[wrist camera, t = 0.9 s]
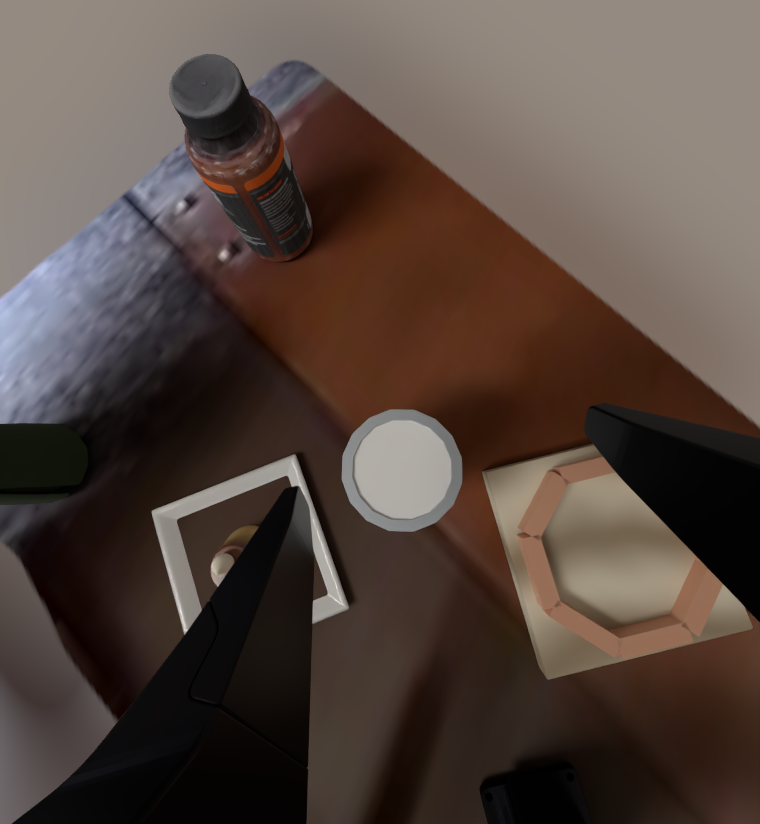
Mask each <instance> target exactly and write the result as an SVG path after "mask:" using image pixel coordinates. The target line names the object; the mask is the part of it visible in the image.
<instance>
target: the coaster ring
mask: <svg viewBox="0 0 760 824" xmlns="http://www.w3.org/2000/svg"><path fill="white" fill-rule="evenodd" d="M552 468H553V471H554V472H548V471H547V472H546V474H545V476H544V478H543V480H542V482H541V484H540V485H539V487H538V489H537V491H536V493H535V495H534V497H533V499H532V501H531V502H530V504H529V506H528V508H527V510H526V512H525V514H524V516H523V518H522V520H521V521H520V523H519V525H518V527H517V528H518V529H520V530H522V531H523V532H525V533H522V534H518V535H517V538H518V541H519V545H520V548H521V551H522V555H523V558H524V561H525V565H526V568H527V571H528V574H529V578H530V581H531V584H532V588H533V591H534V594H535V598H536V601H537V603H538V604H539V605H540V606H541V607H542V610H543V611H544V612H545V613H546V614H547V615H548V616H549V617H550V618H552V619H554V620H555V621H557V622H558V623H560V624H562V625H563V626H565V627H566V628H568V629H570V630H571V631H573V632H574V633H576V634H578V635H579V636H581V637H582V638H584V639H586V640H587V641H589V642H590V643H592V644H594V645H595V646H597V647H598V648H600V649H602V650H603V651H605V652H606V653H608V654H610V655H611V656H613V657H614V658H615V657H616V655H617V654H618V655H619V656H620V657H621V658H622V659H627V658H631V657H635V656H639V655H643V654H647V653H651V652H655V651H659V650H663V649H667V648H671V647H675V646H679V645H683V644H687V643H691V642H693V639H692V636H691V633H690V632H692V633H694V634H695V635H697V636H699V637H700V635H701V633H702V630H703V628H704V626H705V624H706V621H707V619H708V617H709V615H710V612H711V610H712V608H713V606H714V603H715V601H716V599H717V597H718V595H719V592H720V590H721V588H722V586H723V584H722V583H721V582H720V581H719V580H718V579H717V578H716V577H715V575H714V574H713V573H712V572H711V571H710V570H709V569H708V568H707V567H706V566H705V565H704V564H703V563H702V562H701V561H700V560H699V559H698V558H697V557H696V556H695V555H694V554H693V553H692V554H693V557H694V559H695V560H694V562H693V564H692V567H691V569H690V571H689V573H688V575H687V577H686V580H685V582H684V584H683V586H682V588H681V590H680V593H679V595H678V597H677V599H676V601H675V604H674V606H673V608H672V610H671V612H670V614H669V615H667V616H663V617H659V618H655V619H651V620H647V621H643V622H639V623H635V624H631V625H627V626H623V627H619V628H615V629H611V630H609V629H607V628H605V627H604V626H602V625H601V624H599V623H597V622H596V621H594V620H592V619H591V618H589V617H588V616H586V615H584V614H583V613H581V612H579V611H578V610H576V609H575V608H573V607H571V606H570V605H568V604H567V603H565V602H563V601H562V600H560V598H559V595H558V592H557V588H556V585H555V582H554V579H553V576H552V573H551V569H550V566H549V563H548V560H547V557H546V553H545V550H544V547H543V544H542V541H541V536H542V534H543V532H544V530H545V528H546V526H547V524H548V523H549V521H550V519H551V517H552V515H553V513H554V511H555V509H556V507H557V505H558V503H559V501H560V499H561V497H562V496H563V494H564V492H565V490H566V488H567V486H568V484H571V483H575V482H579V481H583V480H587V479H591V478H595V477H599V476H603V475H607V474H611V473H614V472H615V471H614V470H613V469H612V467H611V466H610V465H609V463H608V462H607V461H606V460H605V458H604V457H603V456H602V455H599V456H595V457H591V458H587V459H583V460H579V461H575V462H571V463H567V464H563V465H559V466H555V467H552Z"/></svg>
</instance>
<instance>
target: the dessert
mask: <svg viewBox="0 0 760 824" xmlns="http://www.w3.org/2000/svg"><path fill="white" fill-rule="evenodd" d="M283 476H288V477H289V480H290V482H291V485H292V487H293V486H299V487H300V488H301V490H302V492H303V494H304V496H305V498H306V501H307V503H308V505H309V509H310V518H311V530H312V541H313V550H314V553H315V556H316V559H317V561H318V564H319V567H320V570H321V573H322V576H323V579H324V582H325V585H326V588H327V591H328V594H327V595H326V596H324V597H322V598H319V599H317V600H314V601H313V616H312V624H314V623H316V622H319V621H321V620H324V619H326V618H329V617H331V616H334V615H336V614H338V613H341V612H343V611H346V610H348V609H349V605H348V603H347V600H346V597H345V594H344V591H343V588H342V585H341V582H340V580H339V577H338V574H337V571H336V568H335V565H334V562H333V560H332V557H331V554H330V551H329V548H328V545H327V542H326V540H325V537H324V534H323V531H322V528H321V525H320V522H319V520H318V517H317V514H316V511H315V508H314V505H313V502H312V499H311V497H310V494H309V491H308V488H307V485H306V482H305V479H304V477H303V474H302V471H301V468H300V465H299V462H298V459H297V457H296V455H295V454H293V455H290V456H288V457H285V458H283V459H280V460H278V461H275V462H273V463H270V464H268V465H265V466H263V467H260V468H258V469H255V470H253V471H250V472H248V473H245V474H243V475H240V476H238V477H235V478H233V479H230V480H228V481H225V482H223V483H220V484H218V485H215V486H213V487H210V488H207V489H205V490H202V491H200V492H197V493H195V494H192V495H190V496H187V497H185V498H182V499H180V500H177V501H175V502H172V503H170V504H167V505H165V506H162V507H160V508H157V509H155V510H153V511H152V516H153V520H154V524H155V527H156V531H157V535H158V538H159V542H160V546H161V549H162V553H163V557H164V561H165V564H166V568H167V572H168V575H169V579H170V583H171V586H172V590H173V594H174V598H175V601H176V605H177V609H178V612H179V616H180V620H181V623H182V627H183V631H184V635H185V633H186V632H187V631H188V629H189V628H190V626H191V625H192V624H193V622H194V621H195V619H196V618H197V617H198V615H199V614H200V612H201V611H202V610H201V606H200V603H199V599H198V596H197V592H196V588H195V585H194V581H193V578H192V574H191V571H190V567H189V564H188V560H187V556H186V553H185V549H184V546H183V542H182V539H181V535H180V532H179V528H178V525H177V519H178V518H181V517H183V516H186V515H188V514H191V513H193V512H196V511H198V510H201V509H203V508H206V507H208V506H211V505H213V504H216V503H218V502H221V501H223V500H226V499H228V498H231V497H233V496H236V495H238V494H241V493H243V492H246V491H248V490H251V489H253V488H256V487H258V486H261V485H263V484H266V483H268V482H271V481H273V480H276V479H278V478H281V477H283ZM258 527H259V526H255V525H249V526H244V527H241V528H239V529H237V530H236V531H234V532H233V533H232V534H231V535H230V536H229V537H228V539H227V540H226V542H225V543H224V544H223V546H222V547H221V548H220V549H219V551H218V552H217V554H216V555H215V557H214V558H213V561H212V564H211V576H212V579H213V581H214V583H215V584H216V586H217V587H218V586H219V584H220V583H221V581H222V580H223V579H224V577H225V576H226V574H227V573H228V571H229V570H230V568H231V567H232V565H233V564H234V562H235V561H236V559H237V558H238V556H239V555H240V554H241V552H242V551H243V549H244V548H245V546H246V545H247V543H248V542H249V540H250V539H251V537H252V536H253V534H254V533H255V532H256V530H257V529H258Z"/></svg>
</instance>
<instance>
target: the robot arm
mask: <svg viewBox="0 0 760 824" xmlns="http://www.w3.org/2000/svg"><path fill="white" fill-rule="evenodd" d="M584 430H585V433H586V435H587V437H588V438H589V439H590V441H591V442H592V443H593V445H594V446H595V447H596V448H597V450H598V451H599V452H600V453H601V455H602V456H603V457H604V458H605V460H606V461H607V462H608V463H609V465H610V466H611V467H612V469H613V470H614V471H615V472H616V473H617V475H618V476H619V477H620V478H621V479H622V480H623V481H624V482H625V483H626V484H627V485H628V486H629V487H630V488H631V489H632V490H633V492H634V493H635V494H636V495H637V496H638V497H639V498H640V499H641V500H642V501H643V502H644V503H645V504H646V505H647V506H648V507H649V508H650V509H651V510H652V511H653V512H654V513H655V514H656V515H657V516H658V517H659V518H660V520H661V521H662V522H663V523H664V524H665V525H666V526H667V527H668V528H669V529H670V530H671V531H672V532H673V533H674V534H675V535H676V536H677V537H678V538H679V539H680V540H681V541H682V542H683V543H684V544H685V545H686V546H687V547H688V549H689V550H690V551H691V552H692V553H693V554H694V555H695V556H696V557H697V558H698V559H699V560H700V561H701V562H702V563H703V564H704V565H705V566H706V567H707V568H708V569H709V570H710V571H711V572H712V573H713V574H714V575H715V577H716V578H717V579H718V580H719V581H720V582H721V583H722V584H723V585H724V586H725V587H726V588H727V589H728V590H729V591H730V592H731V593H732V594H733V595H734V596H735V597H736V598H737V599H738V600H739V601H740V602H741V603H742V605H743V606H744V607H745V608H746V609H747V610H748V611H749V612H750V613H751V614H752V615H753V616H754V617H755V618H756V619H757V620H758V621H759V622H760V438H757V437H753V436H748V435H744V434H739V433H735V432H731V431H726V430H722V429H717V428H713V427H708V426H704V425H700V424H695V423H691V422H686V421H682V420H677V419H673V418H669V417H664V416H660V415H655V414H651V413H647V412H642V411H638V410H633V409H629V408H624V407H620V406H616V405H611V404H607V403H601V404H597V405H594V406H591V407H590V408H589V409H588V411H587V416H586V422H585V427H584ZM313 583H314V553H313V541H312V530H311V518H310V509H309V505H308V503H307V501H306V498H305V496H304V494H303V492H302V490H301V488H300V487H299V486H293V487H289V488H286V489H284V491H283V492H282V493H281V495H280V496H279V498H278V499H277V501H276V502H275V504H274V505H273V507H272V508H271V509H270V511H269V512H268V514H267V515H266V517H265V518H264V520H263V521H262V523H261V524H260V526H259V527H258V529H257V530H256V532H255V533H254V534H253V536H252V537H251V539H250V540H249V542H248V543H247V545H246V546H245V548H244V549H243V551H242V552H241V554H240V555H239V556H238V558H237V559H236V561H235V562H234V564H233V565H232V567H231V568H230V570H229V571H228V573H227V574H226V576H225V577H224V579H223V580H222V581H221V583H220V584H219V586H218V587H217V589H216V590H215V592H214V593H213V595H212V596H211V598H210V601H208V602H207V603H206V605H205V606H204V608H203V609H202V611H201V612H200V614H199V615H198V617H197V618H196V619H195V621H194V622H193V624H192V625H191V626H190V628H189V629H188V631H187V632H186V633H185V635H184V636H183V638H182V639H181V641H180V642H179V643H178V645H177V646H176V647H175V649H174V650H173V651H172V652H171V654H170V655H169V656H168V658H167V659H166V660H165V662H164V663H163V664H162V666H161V667H160V668H159V670H158V671H157V672H156V673H155V675H154V676H153V677H152V679H151V680H150V681H149V682H148V684H147V685H146V686H145V687H144V689H143V690H142V691H141V693H140V694H139V695H138V696H137V698H136V699H135V700H134V702H133V703H132V704H131V705H130V707H129V708H128V709H127V710H126V712H125V713H124V714H123V716H122V717H121V718H120V719H119V721H118V722H117V723H116V725H115V726H114V727H113V728H112V730H111V731H110V732H109V734H108V735H107V736H106V737H105V739H104V740H103V741H102V742H101V743H100V745H99V746H98V747H97V749H95V751H94V752H93V753H92V754H91V755H90V756H89V758H88V759H87V760H86V761H85V762H84V763H83V764H82V765H81V766H80V767H79V768H78V769H77V770H76V771H75V772H74V773H73V774H72V775H71V776H70V777H69V778H68V779H67V780H66V781H65V782H63V783H62V784H61V785H60V786H59V787H58V788H57V789H55V790H54V791H53V792H52V793H51V794H50V795H48V796H47V797H46V798H44V799H43V800H42V801H40V802H39V803H38V804H37V805H35V806H34V807H33V808H31V809H30V810H29V811H28V812H26V813H25V814H24V815H22V816H21V817H20V818H18V819H17V820H16V821H15V822H13V823H12V824H306V819H307V786H308V769H307V767H308V748H309V715H310V682H311V649H312V616H313ZM568 773H570V775H567V774H568ZM486 793H490V794H489V795H486ZM480 795H481V799H482V803H483V807H484V810H485V814H486V818H487V822H488V824H592V822H591V818H590V815H589V812H588V808H587V805H586V801H585V798H584V795H583V791H582V788H581V785H580V781H579V778H578V775H577V773H576V771H575V769H574V768H573V766H572V765H571V764H569V763H561V764H557V765H553V766H549V767H545V768H541V769H537V770H533V771H529V772H525V773H521V774H517V775H512V776H508V777H504V778H500V779H496V780H492V781H488V782H485V783H483V784H482V785H481V786H480Z"/></svg>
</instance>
